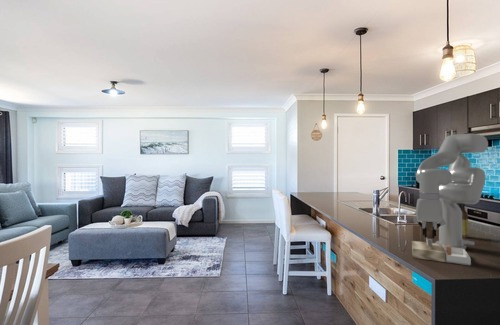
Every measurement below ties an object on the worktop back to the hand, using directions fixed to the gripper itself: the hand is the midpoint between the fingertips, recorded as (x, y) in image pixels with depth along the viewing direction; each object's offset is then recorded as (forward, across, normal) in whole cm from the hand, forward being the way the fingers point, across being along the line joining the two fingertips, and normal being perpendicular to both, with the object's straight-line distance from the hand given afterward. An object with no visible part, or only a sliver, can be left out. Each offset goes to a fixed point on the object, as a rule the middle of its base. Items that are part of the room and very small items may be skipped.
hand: (429, 237), depth 127 cm
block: (+5, -6, 0) cm, 8 cm away
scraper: (+3, 0, 0) cm, 3 cm away
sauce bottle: (+8, -19, -46) cm, 50 cm away
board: (+8, +1, 0) cm, 8 cm away
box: (+8, -10, 0) cm, 13 cm away
